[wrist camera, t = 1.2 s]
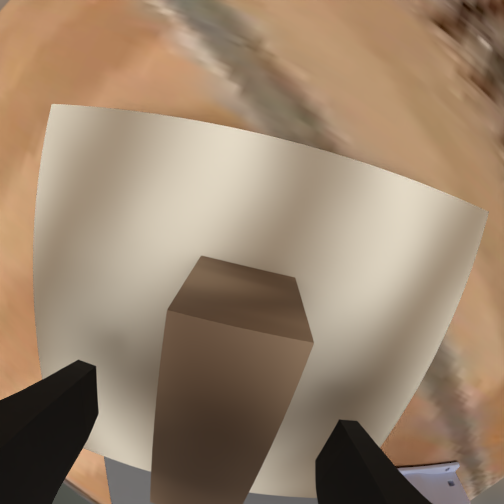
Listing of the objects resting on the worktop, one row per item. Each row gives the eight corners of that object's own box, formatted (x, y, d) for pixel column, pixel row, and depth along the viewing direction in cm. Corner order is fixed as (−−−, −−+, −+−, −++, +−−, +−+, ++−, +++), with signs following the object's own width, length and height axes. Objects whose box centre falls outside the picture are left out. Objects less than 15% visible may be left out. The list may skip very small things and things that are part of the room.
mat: (367, 441, 18) (369, 446, 18) (288, 541, 23) (288, 544, 23) (101, 390, 18) (98, 394, 17) (114, 508, 22) (113, 511, 22)
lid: (474, 207, 10) (565, 236, 6) (337, 485, 14) (351, 554, 10) (66, 107, 10) (-27, 89, 5) (61, 423, 14) (22, 483, 9)
